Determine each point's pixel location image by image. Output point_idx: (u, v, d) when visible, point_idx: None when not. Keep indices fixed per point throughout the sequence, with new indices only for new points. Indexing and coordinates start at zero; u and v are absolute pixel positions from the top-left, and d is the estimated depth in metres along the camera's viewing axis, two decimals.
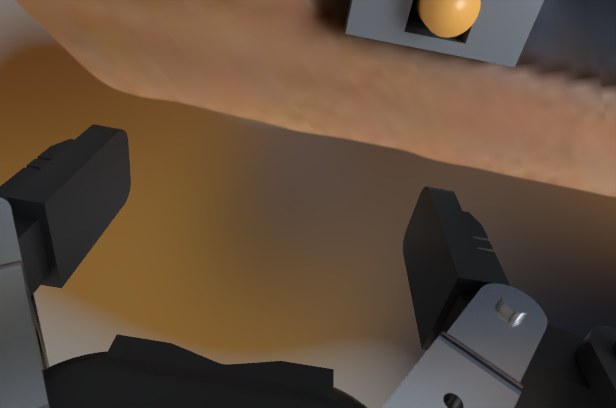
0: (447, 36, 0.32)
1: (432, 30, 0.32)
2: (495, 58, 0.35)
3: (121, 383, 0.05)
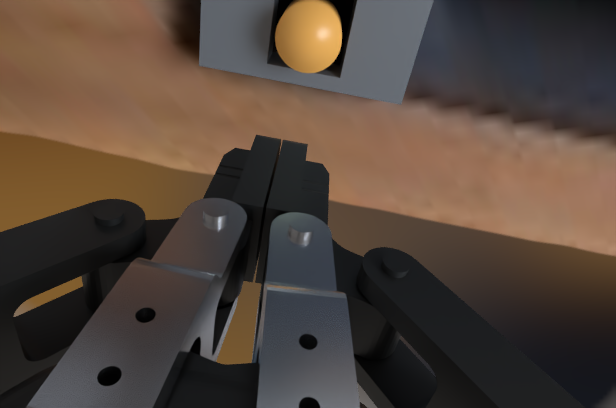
0: (308, 72, 0.27)
1: (290, 64, 0.27)
2: (377, 95, 0.29)
3: None
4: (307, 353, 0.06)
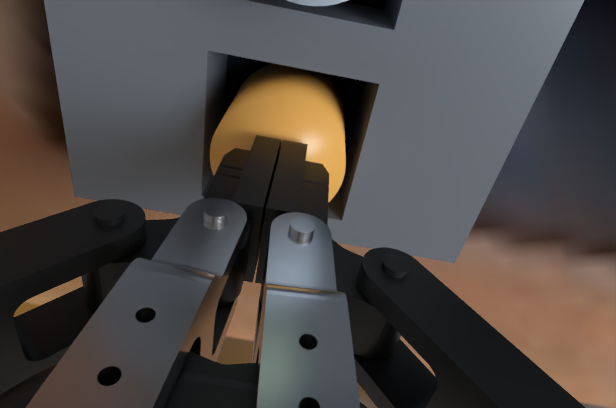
0: None
1: None
2: (411, 247, 0.16)
3: None
4: (307, 354, 0.06)
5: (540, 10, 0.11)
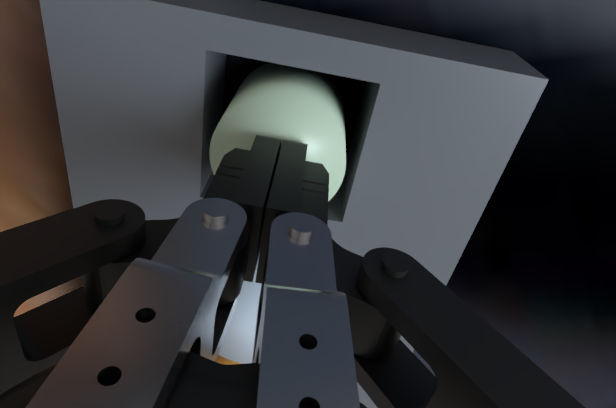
0: None
1: None
2: None
3: None
4: (307, 353, 0.06)
5: None
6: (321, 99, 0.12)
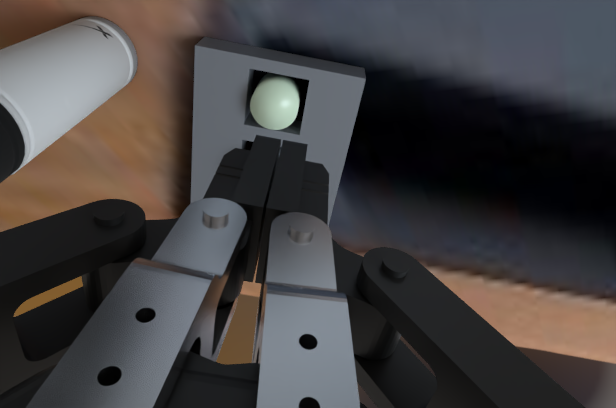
0: None
1: None
2: None
3: None
4: (307, 354, 0.06)
5: None
6: (289, 85, 0.36)
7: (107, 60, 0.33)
